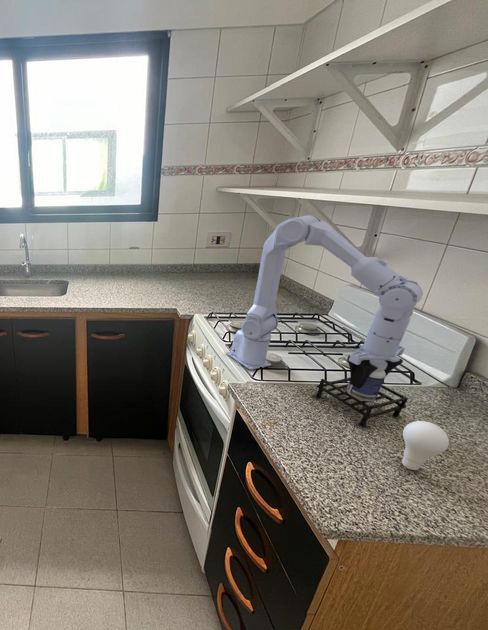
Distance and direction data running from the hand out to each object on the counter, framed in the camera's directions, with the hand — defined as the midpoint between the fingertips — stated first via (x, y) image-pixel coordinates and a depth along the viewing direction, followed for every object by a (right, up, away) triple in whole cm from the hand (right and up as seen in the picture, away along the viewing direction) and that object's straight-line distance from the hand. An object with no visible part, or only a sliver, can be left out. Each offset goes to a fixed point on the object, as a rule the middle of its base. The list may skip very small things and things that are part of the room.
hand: (364, 383), depth 83 cm
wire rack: (0, -6, +3) cm, 7 cm away
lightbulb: (-4, -14, -14) cm, 21 cm away
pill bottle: (0, -3, +1) cm, 4 cm away
